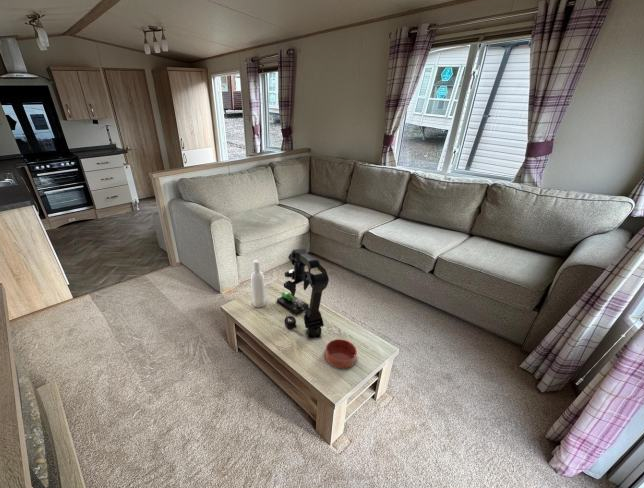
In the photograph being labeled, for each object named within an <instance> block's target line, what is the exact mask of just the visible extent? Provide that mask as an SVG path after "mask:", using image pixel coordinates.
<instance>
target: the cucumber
mask: <svg viewBox="0 0 644 488" xmlns="http://www.w3.org/2000/svg"><path fill="white" fill-rule="evenodd" d="M289 293H290V292H288V291H282V292H281V297H282V296H283V297H284V298H286V299H287V300H289V301H293V300H294V297H293V296H292V295H291V293H290V294H289Z"/></svg>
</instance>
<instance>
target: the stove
mask: <svg viewBox="0 0 644 488" xmlns="http://www.w3.org/2000/svg"><path fill="white" fill-rule="evenodd" d="M288 293H289V294H291V292H288ZM291 295H292V294H291ZM296 299H299V298H298V297H297V296H296V295H294V300H293V301H289V300H287V299H286V298H284V297H283V296H282V295H281V296H279V297H278V298H277V299H276V303H277V304H279V305H280V306H281V307H283V308H284V309H286V310H287V311H289V312H290V313H292V314H293V315H295V316H296V317H297V316H298V315H300V314H301V313H303V312H305V308H306V307H309V306H310V304H308V303H306V302H305V301H304V300H302V308H296Z"/></svg>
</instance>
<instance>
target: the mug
mask: <svg viewBox="0 0 644 488" xmlns="http://www.w3.org/2000/svg"><path fill="white" fill-rule="evenodd" d="M285 316H286V317H284V321H283V322H284V326H285V328H286V329H288V330H292V329H294V331H295V332H297V333H299V334H301V335H302V333H300V332H299V331H298V330H296V329H295V328H297V320H296V318H295V317H294V316H292V315H288V314H287V313H285Z"/></svg>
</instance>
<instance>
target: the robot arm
mask: <svg viewBox="0 0 644 488" xmlns="http://www.w3.org/2000/svg"><path fill="white" fill-rule="evenodd" d="M287 258H288V261H289V262H290V263H291V265H292V266H293V269H290V270H286V271H284V278H290V279H291V280H287V281H285V282H284V283H283V288H284V289H286V290H287V291H289V293H290V294H292V296H293V297H294V296H296V291H297V285H298V284H300V283H303V290H304V291H306V290H307V288H308V287H309V286H310V287H311V294H310V300H309V306H308V307H306V308H305V311H304V314H303V321H304V328H305V329H306V333H307V338H308V339H320V338H322V336H321V335H322V328H323V327H324V325H325V323H324V320H323V317H322V313H321V311H320V305H321V301H322V295H323V291H324V290H326V288H327V287H328V285H329V281H330V279H329V276H328V272H327V270H326V268H325V267H323V266H322V264H321V263H320V260H319V259H316V258H314V256H312V255H311V254H309V253H308V250H307V249H306V248H305V247H302V248H301V247H299V248H296V249H295V248H294V249H292V251H291V252H290V254H289V255H288V257H287ZM305 267H307V269H308V270H305ZM312 269H317V270H318V271H319V272H320V273H316V274H314V273H312V272H311V270H312ZM292 280H293V281H292Z"/></svg>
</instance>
